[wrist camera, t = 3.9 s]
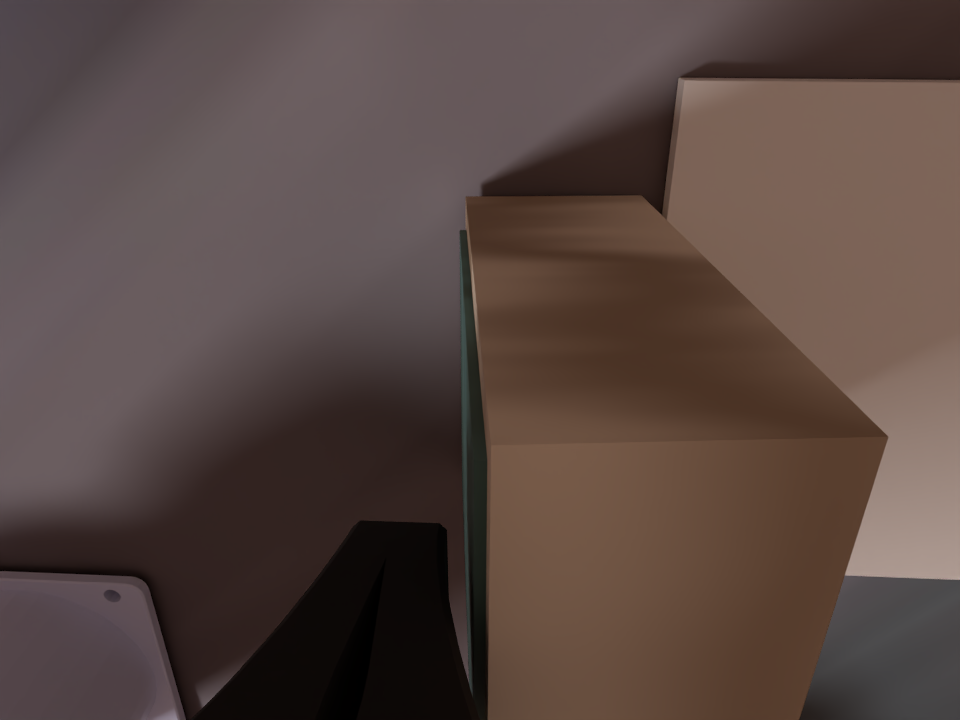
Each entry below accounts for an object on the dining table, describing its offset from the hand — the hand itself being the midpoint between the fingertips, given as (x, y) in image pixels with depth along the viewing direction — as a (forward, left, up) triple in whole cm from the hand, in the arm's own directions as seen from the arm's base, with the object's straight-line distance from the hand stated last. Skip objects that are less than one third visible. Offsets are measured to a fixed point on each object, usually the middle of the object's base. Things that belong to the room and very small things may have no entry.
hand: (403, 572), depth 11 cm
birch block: (+2, 0, -8) cm, 8 cm away
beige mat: (+10, 0, -8) cm, 13 cm away
